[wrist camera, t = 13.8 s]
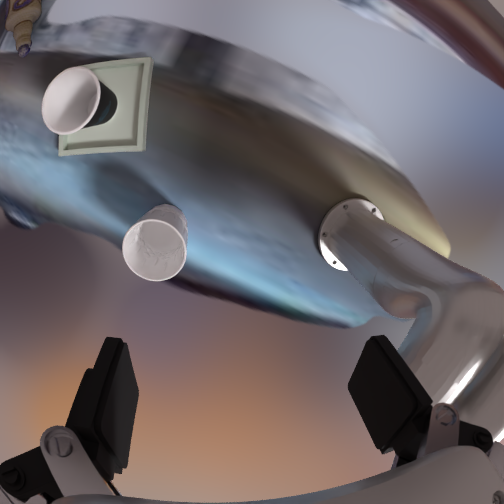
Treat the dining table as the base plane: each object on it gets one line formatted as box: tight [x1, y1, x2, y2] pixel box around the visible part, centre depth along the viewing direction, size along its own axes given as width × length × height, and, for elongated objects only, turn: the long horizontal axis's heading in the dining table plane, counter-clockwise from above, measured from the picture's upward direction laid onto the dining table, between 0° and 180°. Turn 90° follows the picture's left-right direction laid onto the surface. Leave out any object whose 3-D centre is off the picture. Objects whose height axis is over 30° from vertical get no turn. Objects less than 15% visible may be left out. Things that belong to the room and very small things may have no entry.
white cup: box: [122, 204, 188, 281], centre depth 36 cm, size 8×8×10 cm
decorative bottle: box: [5, 0, 42, 57], centre depth 17 cm, size 26×8×7 cm, turn 13°
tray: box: [59, 57, 154, 156], centre depth 31 cm, size 14×14×2 cm
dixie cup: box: [42, 67, 118, 135], centre depth 27 cm, size 8×8×11 cm
